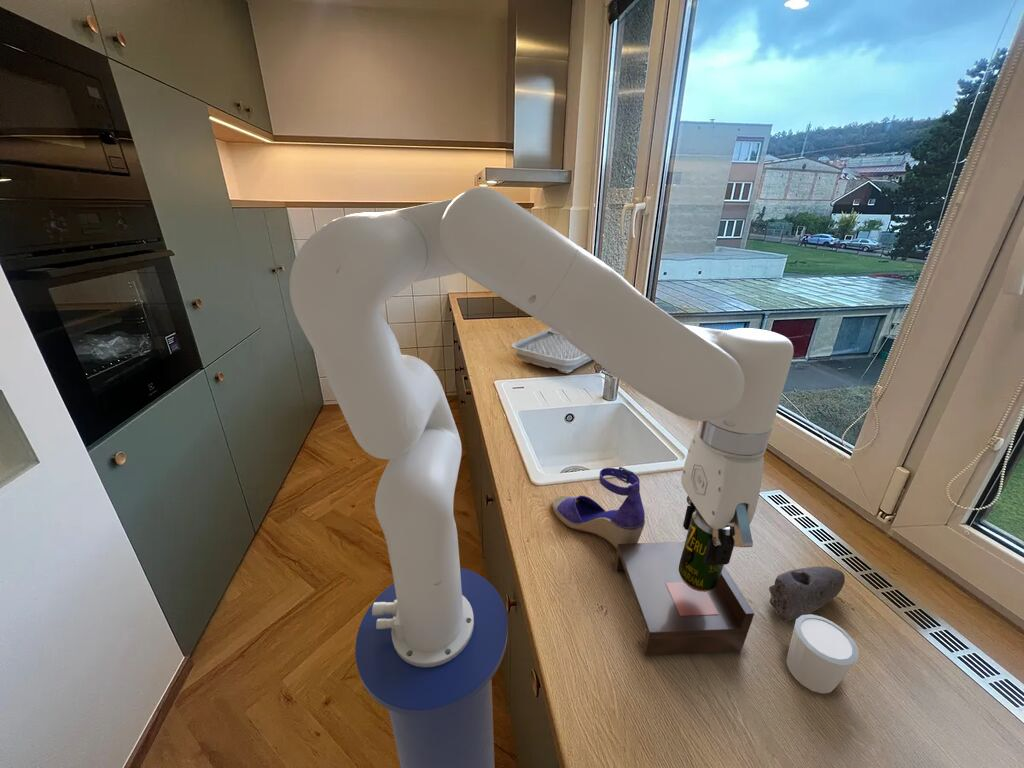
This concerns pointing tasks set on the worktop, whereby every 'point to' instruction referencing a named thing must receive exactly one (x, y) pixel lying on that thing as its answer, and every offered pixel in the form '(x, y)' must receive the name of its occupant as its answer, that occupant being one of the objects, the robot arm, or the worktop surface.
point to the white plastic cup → (820, 653)
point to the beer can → (699, 556)
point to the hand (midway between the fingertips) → (704, 543)
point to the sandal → (606, 524)
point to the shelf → (682, 603)
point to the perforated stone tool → (804, 590)
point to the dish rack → (550, 351)
